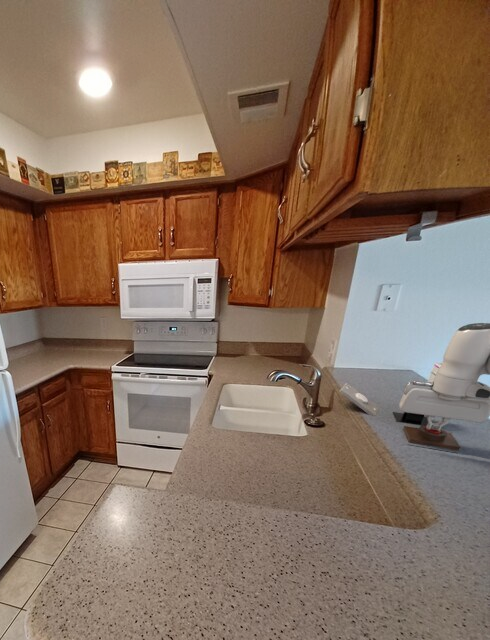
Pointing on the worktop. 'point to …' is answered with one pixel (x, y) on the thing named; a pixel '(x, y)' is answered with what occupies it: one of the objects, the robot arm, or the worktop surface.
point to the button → (433, 431)
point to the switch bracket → (411, 418)
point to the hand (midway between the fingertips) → (432, 429)
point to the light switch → (359, 400)
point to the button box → (431, 438)
